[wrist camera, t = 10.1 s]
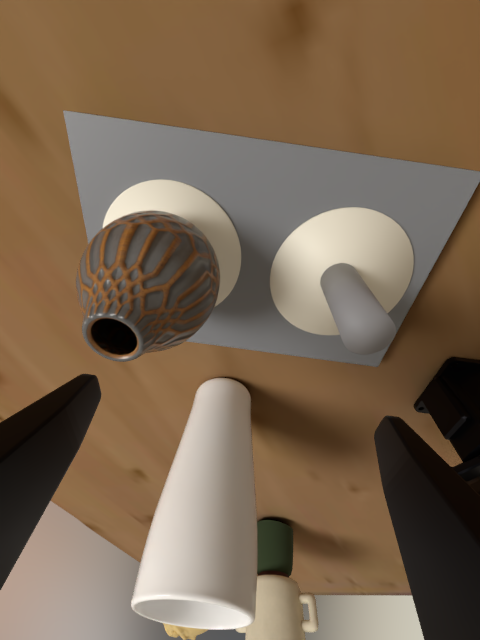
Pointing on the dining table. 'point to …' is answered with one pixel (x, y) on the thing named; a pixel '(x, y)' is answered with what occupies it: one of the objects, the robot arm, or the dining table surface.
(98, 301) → the vase
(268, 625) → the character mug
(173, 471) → the white tapered cylinder
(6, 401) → the dining table surface
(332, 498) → the dining table surface
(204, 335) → the board
